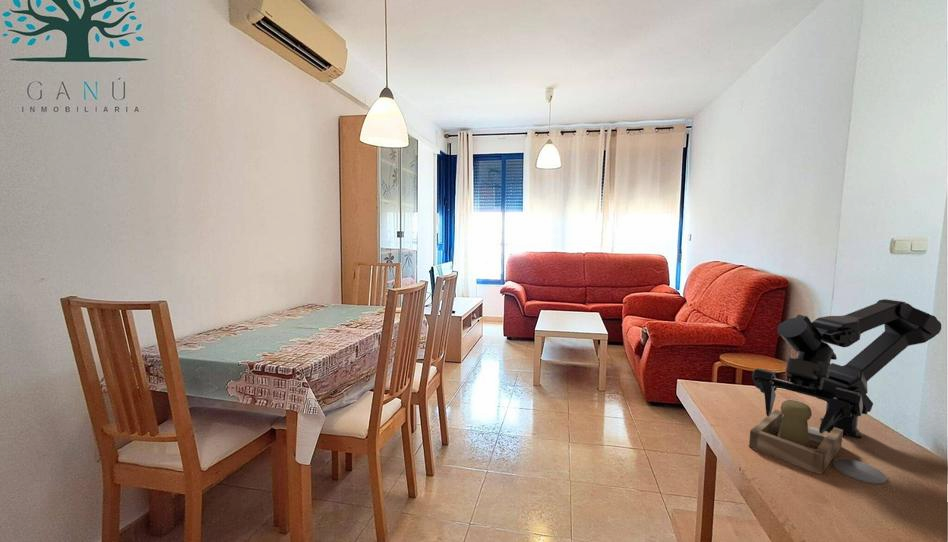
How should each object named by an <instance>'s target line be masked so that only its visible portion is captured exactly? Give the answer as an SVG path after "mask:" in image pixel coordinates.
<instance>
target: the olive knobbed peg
mask: <svg viewBox="0 0 948 542" xmlns="http://www.w3.org/2000/svg"><path fill="white" fill-rule="evenodd" d="M780 411H781V412H782V413H783V418H782V422H781V426H780V429H779V430H778V433H777V437H780V438H782V439H785V440H788V441H791V442H794V443H797V444H800V445H802V446H805V447H808V448H810V445H809V435H808V426H809V424H808V421H809V420H810V419H811V418H812V413H813V412H812V409H811V407H810V406H809V405H808V404H805V403H804V402H801V401H798V400H793V399H790V400H789V399H788V400H784V401H783V402H781V405H780Z"/></svg>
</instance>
